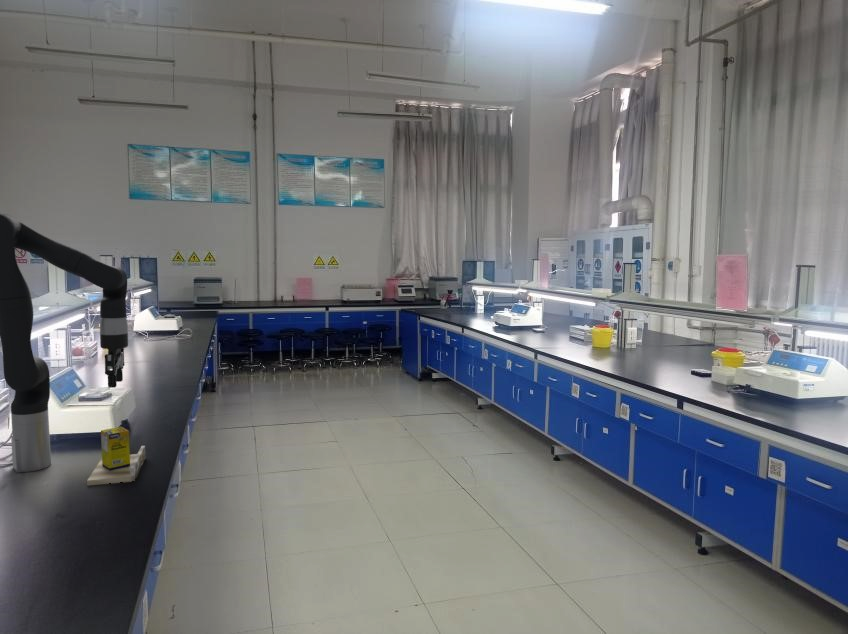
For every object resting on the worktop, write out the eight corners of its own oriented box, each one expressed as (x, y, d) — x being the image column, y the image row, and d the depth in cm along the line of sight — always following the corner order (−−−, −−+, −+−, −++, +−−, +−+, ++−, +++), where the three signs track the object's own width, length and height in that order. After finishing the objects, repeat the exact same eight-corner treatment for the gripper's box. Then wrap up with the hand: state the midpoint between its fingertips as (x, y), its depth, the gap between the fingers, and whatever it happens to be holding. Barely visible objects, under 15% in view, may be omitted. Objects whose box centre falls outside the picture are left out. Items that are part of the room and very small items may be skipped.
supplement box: (130, 466, 177) (129, 430, 176) (109, 471, 173) (107, 434, 171) (123, 461, 181) (121, 426, 180) (101, 466, 177) (100, 430, 175)
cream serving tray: (135, 481, 169) (134, 467, 169) (87, 485, 166) (86, 471, 165) (146, 457, 188) (145, 445, 188) (103, 461, 185) (102, 448, 184)
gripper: (122, 335, 176) (124, 389, 177) (132, 329, 189) (133, 379, 191) (94, 335, 174) (96, 390, 175) (106, 329, 187) (107, 379, 189)
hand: (115, 384), depth 183 cm, fingers open, 8 cm apart
